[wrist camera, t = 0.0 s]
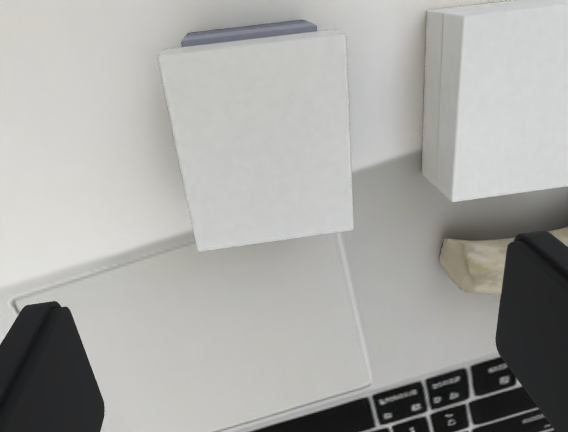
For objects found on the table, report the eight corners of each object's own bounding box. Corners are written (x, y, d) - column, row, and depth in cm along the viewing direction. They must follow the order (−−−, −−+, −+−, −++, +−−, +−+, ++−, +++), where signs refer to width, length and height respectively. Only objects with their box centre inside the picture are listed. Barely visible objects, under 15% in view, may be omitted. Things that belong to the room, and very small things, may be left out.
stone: (642, 163, 25) (727, 202, 21) (635, 259, 28) (709, 311, 24) (435, 227, 26) (477, 278, 21) (449, 315, 29) (489, 376, 24)
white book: (162, 49, 18) (156, 56, 16) (335, 28, 18) (346, 33, 16) (199, 231, 21) (197, 252, 19) (344, 211, 21) (354, 230, 20)
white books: (426, 10, 21) (463, 15, 18) (568, -7, 21) (629, -4, 18) (421, 173, 24) (451, 203, 21) (543, 157, 25) (591, 183, 21)
